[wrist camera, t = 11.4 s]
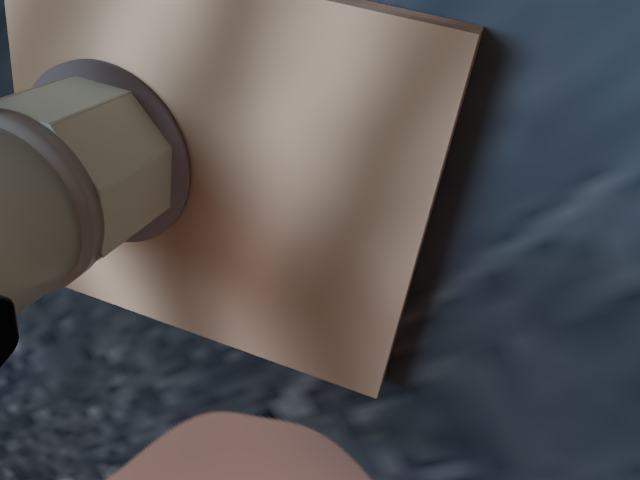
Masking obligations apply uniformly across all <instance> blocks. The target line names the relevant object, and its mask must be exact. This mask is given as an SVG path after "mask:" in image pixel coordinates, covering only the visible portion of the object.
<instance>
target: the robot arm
mask: <svg viewBox="0 0 640 480" xmlns="http://www.w3.org/2000/svg"><path fill="white" fill-rule="evenodd" d="M18 340H19V332H18V325H17V318H16V310H15V305H14V302H13V301H12V299H10V298H8V297H6V296H3V295H0V367H1V366H2V365H3V364H4V363H5V361H6V360H7V359H8V358H9V356H10V355H11V354H12V353H13V351H14V350H15V348H16V346H17V343H18Z"/></svg>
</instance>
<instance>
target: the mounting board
mask: <svg viewBox="0 0 640 480" xmlns="http://www.w3.org/2000/svg"><path fill="white" fill-rule="evenodd" d="M4 1H5V10H6V20H7V29H8V38H9V47H10V56H11V66H12V75H13V84H14V93H18V92H21V91H24V90H27V89H30V88H33V87H36V86H39V85H42V84H46V83H49V82H52V81H55V80H58V79H61V78H64V77H67V76H70V75H74V76H77V77H81V78H84V79H88V80H92V81H95V82H99V83H103V84H106V85H110V86H114V87H117V88H121V89H124V90H128V91H129V90H130V91H132V94H133V95H134V96H135V98H136V99H137V101H138V102H139V103H140V105H141V106H142V107H143V109H144V110H145V112H146V113H147V114H148V116H149V117H150V119H151V120H152V121H153V123H154V124H155V125H156V127H157V128H158V130H159V131H160V132H161V134H162V135H163V136H164V138H165V139H166V141H167V142H168V143H169V145H170V146H171V147H172V164H171V197H170V205H171V206H170V208H168V209H167V210H166V211H165V212H163V213H162V214H161V215H159V216H158V217H157V218H155V219H154V220H153V221H151V222H150V223H149V224H147V225H146V226H145V227H143V228H142V229H141V230H139V231H138V232H137V233H135V234H134V235H133V236H131V237H130V238H129V239H128V240H126V241H125V242H124V243H122V244H121V245H120V246H118V247H117V248H116V249H114V250H113V251H112V252H110V253H109V254H108V255H106V256H105V257H104V258H101V259H99V260H97V261H96V262H95V263H94V264H93V265H92V266H91V268H90V269H88V270H87V271H86V272H85V273H83V274H82V275H81V276H79V277H78V278H77V279H75V280H74V281H73V282H71V283H70V284H69V285H67V286H65V287H67V288H70V289H72V290H75V291H78V292H81V293H84V294H86V295H89V296H92V297H95V298H97V299H100V300H103V301H106V302H109V303H111V304H114V305H117V306H120V307H122V308H125V309H128V310H131V311H134V312H136V313H139V314H142V315H145V316H147V317H150V318H153V319H156V320H159V321H161V322H164V323H167V324H170V325H172V326H175V327H178V328H181V329H184V330H186V331H189V332H192V333H195V334H197V335H200V336H203V337H206V338H209V339H211V340H214V341H217V342H220V343H223V344H225V345H228V346H231V347H234V348H236V349H239V350H242V351H245V352H248V353H250V354H253V355H256V356H259V357H261V358H264V359H267V360H270V361H273V362H275V363H278V364H281V365H284V366H286V367H289V368H292V369H295V370H298V371H300V372H303V373H306V374H309V375H311V376H314V377H317V378H320V379H323V380H325V381H328V382H331V383H334V384H336V385H339V386H342V387H345V388H348V389H350V390H353V391H356V392H359V393H361V394H364V395H367V396H370V397H373V398H375V399H377V397H378V394H379V391H380V388H381V385H382V383H383V380H384V377H385V374H386V371H387V367H388V364H389V360H390V357H391V353H392V350H393V346H394V343H395V339H396V335H397V332H398V328H399V325H400V321H401V318H402V314H403V311H404V307H405V304H406V300H407V297H408V293H409V290H410V286H411V283H412V279H413V276H414V272H415V269H416V265H417V262H418V258H419V255H420V251H421V248H422V244H423V240H424V237H425V233H426V230H427V226H428V223H429V219H430V216H431V212H432V209H433V205H434V202H435V198H436V195H437V191H438V188H439V184H440V181H441V177H442V174H443V170H444V167H445V163H446V160H447V156H448V152H449V149H450V145H451V142H452V138H453V135H454V131H455V128H456V124H457V121H458V117H459V114H460V110H461V107H462V103H463V100H464V96H465V93H466V89H467V86H468V82H469V79H470V75H471V72H472V68H473V65H474V61H475V57H476V54H477V50H478V47H479V43H480V40H481V36H482V33H483V29H484V26H480V25H476V24H471V23H466V22H462V21H457V20H453V19H448V18H444V17H439V16H435V15H430V14H426V13H421V12H417V11H412V10H408V9H403V8H398V7H394V6H389V5H385V4H380V3H376V2H371V1H367V0H4Z"/></svg>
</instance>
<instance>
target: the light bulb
mask: <svg viewBox="0 0 640 480" xmlns="http://www.w3.org/2000/svg"><path fill="white" fill-rule="evenodd" d="M171 164H172V147H171V146H170V145H169V143H168V142H167V141H166V139H165V138H164V136H163V135H162V134H161V132H160V131H159V130H158V128H157V127H156V125H155V124H154V123H153V121H152V120H151V119H150V117H149V116H148V114H147V113H146V112H145V110H144V109H143V107H142V106H141V105H140V103H139V102H138V101H137V99H136V98H135V96H134V95H133V94H132V91H130V90H129V91H128V90H124V89H121V88H117V87H114V86H110V85H106V84H103V83H99V82H95V81H92V80H88V79H84V78H81V77H77V76H74V75H70V76H67V77H64V78H61V79H58V80H55V81H52V82H49V83H46V84H42V85H39V86H36V87H33V88H30V89H27V90H24V91H21V92H18V93H15V94H12V95H8V96H5V97H2V98H0V295H3V296H6V297H8V298H10V299H12V301H13V302H14V305H15V310H16V315H17V314H19V313H20V312H21V311H23V310H24V309H25V308H27V307H28V306H29V305H31V304H32V303H33V302H35V301H36V300H38V299H39V298H40V297H42V296H43V295H44V294H46V293H47V292H52V291H56V290H59V289H62V288H64V287H65V286H67V285H69V284H70V283H71V282H73V281H74V280H75V279H77V278H78V277H79V276H81V275H82V274H83V273H85V272H86V271H87V270H88V269H90V268H91V266H92V265H93V264H94V263H95V262H96V261H97V260H99V259H101V258H104V257H105V256H106V255H108V254H109V253H110V252H112V251H113V250H114V249H116V248H117V247H118V246H120V245H121V244H122V243H124V242H125V241H126V240H128V239H129V238H130V237H131V236H133V235H134V234H135V233H137V232H138V231H139V230H141V229H142V228H143V227H145V226H146V225H147V224H149V223H150V222H151V221H153V220H154V219H155V218H157V217H158V216H159V215H161V214H162V213H163V212H165V211H166V210H167V209H168V208H170V206H171V205H170V197H171Z"/></svg>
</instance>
